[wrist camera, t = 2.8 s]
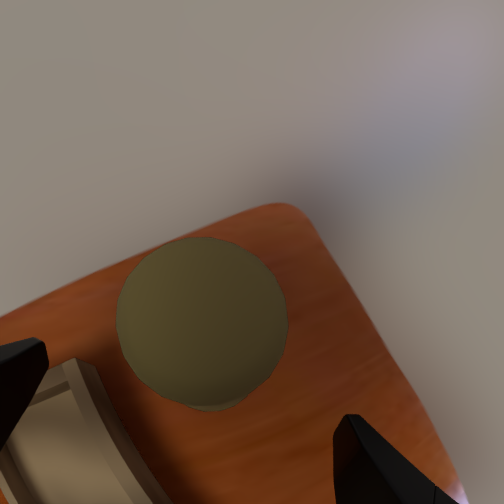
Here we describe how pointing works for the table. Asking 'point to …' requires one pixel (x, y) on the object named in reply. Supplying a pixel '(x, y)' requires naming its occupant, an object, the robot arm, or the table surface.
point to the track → (74, 447)
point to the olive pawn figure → (202, 322)
